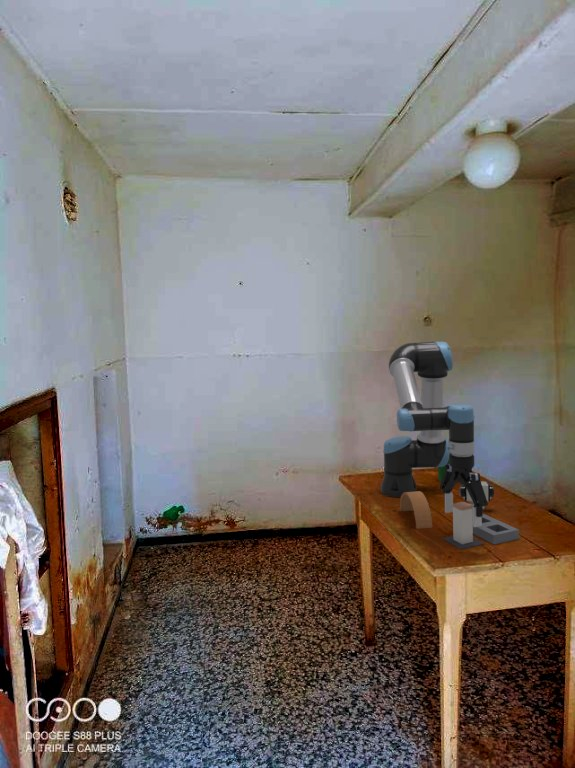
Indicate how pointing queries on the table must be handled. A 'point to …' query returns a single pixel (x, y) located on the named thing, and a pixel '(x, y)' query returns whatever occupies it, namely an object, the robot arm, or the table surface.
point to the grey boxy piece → (495, 531)
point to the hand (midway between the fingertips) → (462, 519)
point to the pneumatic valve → (486, 487)
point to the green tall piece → (442, 471)
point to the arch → (417, 508)
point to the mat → (463, 546)
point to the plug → (462, 522)
